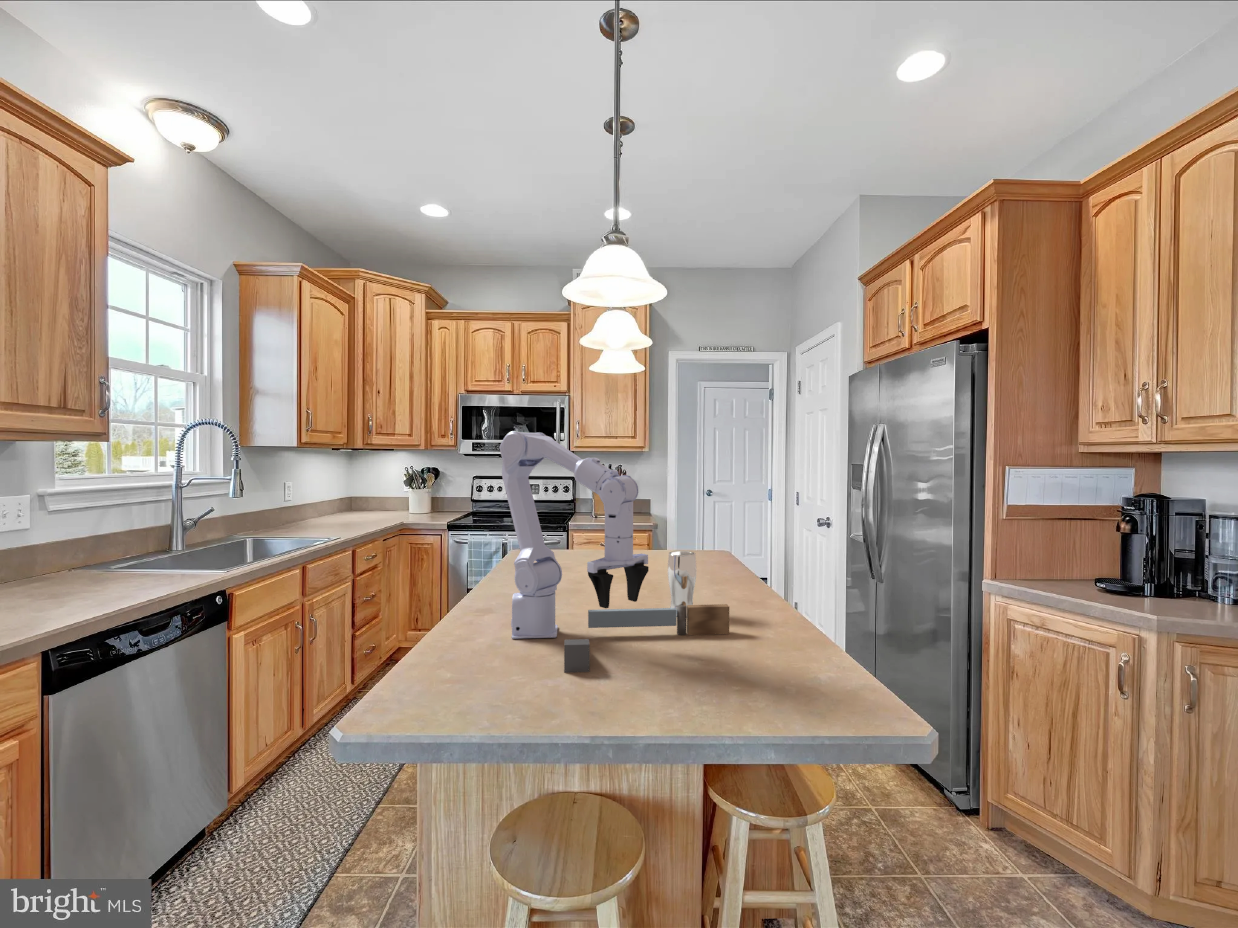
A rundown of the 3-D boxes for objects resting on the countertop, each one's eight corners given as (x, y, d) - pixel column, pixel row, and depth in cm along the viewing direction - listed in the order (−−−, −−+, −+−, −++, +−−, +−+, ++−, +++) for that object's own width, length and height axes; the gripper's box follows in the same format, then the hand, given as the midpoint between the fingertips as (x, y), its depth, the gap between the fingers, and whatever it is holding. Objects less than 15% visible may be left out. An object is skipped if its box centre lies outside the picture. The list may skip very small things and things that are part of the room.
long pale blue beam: (588, 627, 122) (588, 611, 122) (588, 625, 124) (588, 609, 124) (676, 625, 124) (676, 609, 124) (675, 623, 126) (675, 607, 126)
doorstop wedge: (589, 671, 103) (589, 644, 103) (564, 672, 103) (564, 644, 103) (587, 652, 113) (587, 627, 113) (564, 653, 113) (564, 628, 113)
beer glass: (697, 618, 137) (698, 555, 136) (668, 618, 137) (668, 555, 137) (694, 610, 144) (694, 550, 143) (666, 610, 144) (666, 550, 143)
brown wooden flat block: (677, 635, 124) (678, 607, 124) (676, 632, 126) (676, 605, 126) (729, 633, 125) (729, 606, 125) (726, 631, 127) (726, 604, 127)
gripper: (603, 542, 107) (603, 614, 107) (658, 535, 117) (658, 601, 117) (580, 537, 112) (580, 606, 113) (635, 531, 122) (634, 595, 122)
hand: (618, 603), depth 115 cm, fingers open, 7 cm apart
